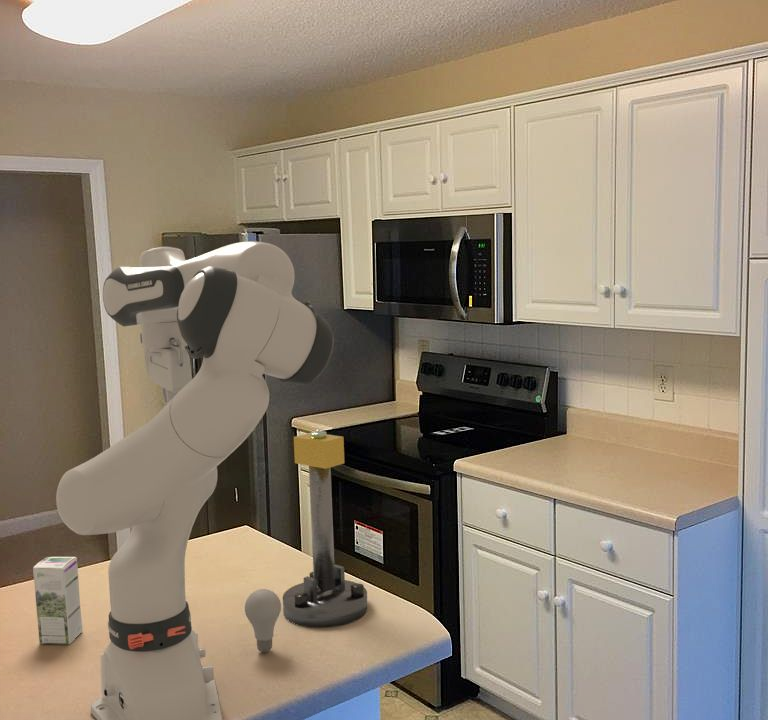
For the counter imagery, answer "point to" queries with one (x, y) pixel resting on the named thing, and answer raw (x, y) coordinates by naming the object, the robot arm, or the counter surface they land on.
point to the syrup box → (57, 600)
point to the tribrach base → (325, 602)
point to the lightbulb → (263, 616)
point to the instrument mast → (321, 499)
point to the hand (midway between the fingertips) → (171, 410)
